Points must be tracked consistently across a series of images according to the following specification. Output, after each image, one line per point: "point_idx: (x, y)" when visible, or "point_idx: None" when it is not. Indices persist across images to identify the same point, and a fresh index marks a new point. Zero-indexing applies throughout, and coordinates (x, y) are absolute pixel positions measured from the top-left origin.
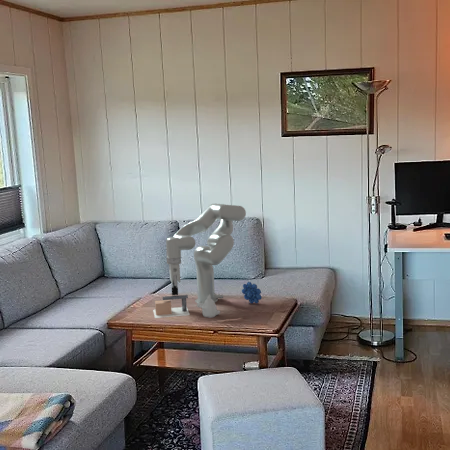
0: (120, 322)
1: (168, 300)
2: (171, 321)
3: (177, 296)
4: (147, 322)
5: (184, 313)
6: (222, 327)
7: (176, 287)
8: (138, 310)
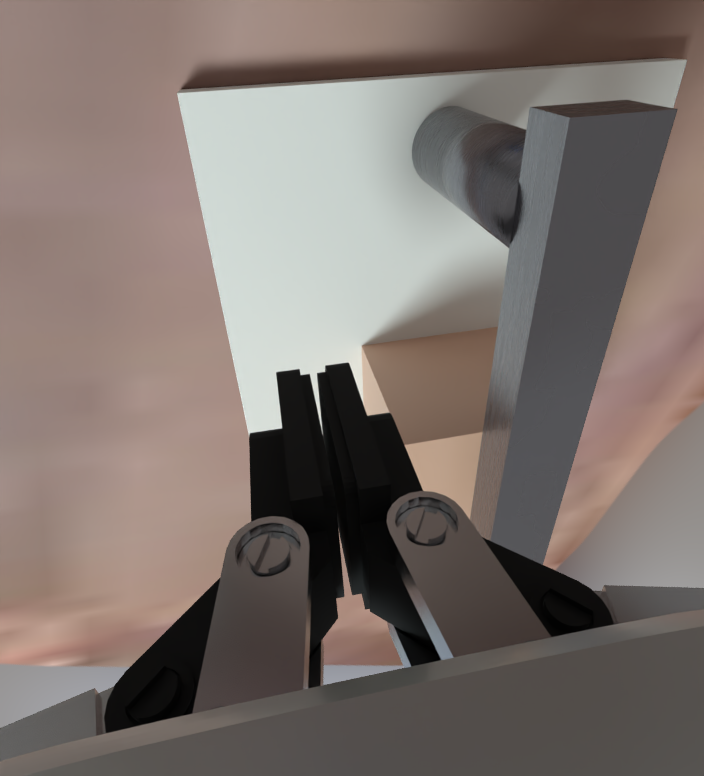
0: None
1: (451, 460)
2: (692, 306)
3: (598, 368)
4: (593, 490)
5: None
6: None
7: (453, 524)
8: None
